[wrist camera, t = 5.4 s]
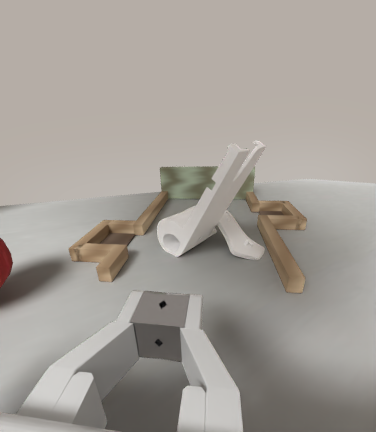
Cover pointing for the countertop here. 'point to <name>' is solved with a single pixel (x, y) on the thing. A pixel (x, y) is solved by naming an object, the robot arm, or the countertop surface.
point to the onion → (4, 262)
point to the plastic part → (215, 210)
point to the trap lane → (193, 189)
